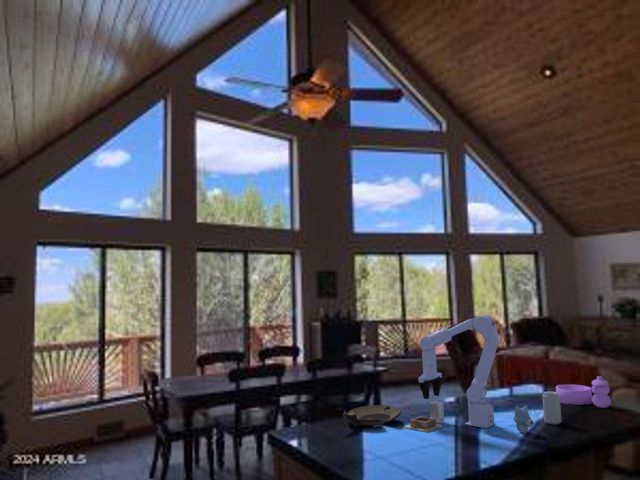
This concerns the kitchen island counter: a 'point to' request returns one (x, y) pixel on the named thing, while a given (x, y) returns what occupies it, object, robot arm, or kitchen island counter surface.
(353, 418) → the olive shallow bowl
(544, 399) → the beverage can
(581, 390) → the container set
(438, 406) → the peg
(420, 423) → the collar
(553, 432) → the kitchen island counter surface
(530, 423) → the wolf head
